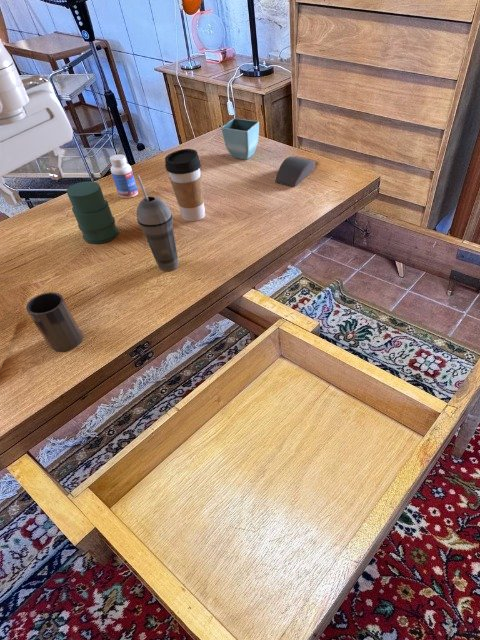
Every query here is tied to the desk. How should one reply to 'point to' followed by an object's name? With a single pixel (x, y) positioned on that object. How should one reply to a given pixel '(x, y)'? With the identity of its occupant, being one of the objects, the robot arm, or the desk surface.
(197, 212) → the coffee cup
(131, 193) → the pill bottle
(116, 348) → the desk surface
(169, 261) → the beverage cup
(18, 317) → the desk surface
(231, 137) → the flower pot
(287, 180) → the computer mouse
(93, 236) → the cup stack
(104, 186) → the desk surface
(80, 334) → the charcoal cup
